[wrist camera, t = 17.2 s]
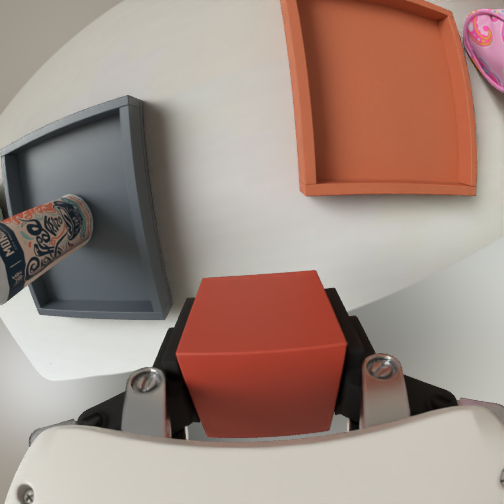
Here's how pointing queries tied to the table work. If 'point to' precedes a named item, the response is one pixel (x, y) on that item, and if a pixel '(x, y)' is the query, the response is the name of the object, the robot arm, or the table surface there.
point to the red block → (263, 355)
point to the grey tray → (94, 212)
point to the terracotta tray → (380, 98)
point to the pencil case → (486, 44)
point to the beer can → (40, 241)
